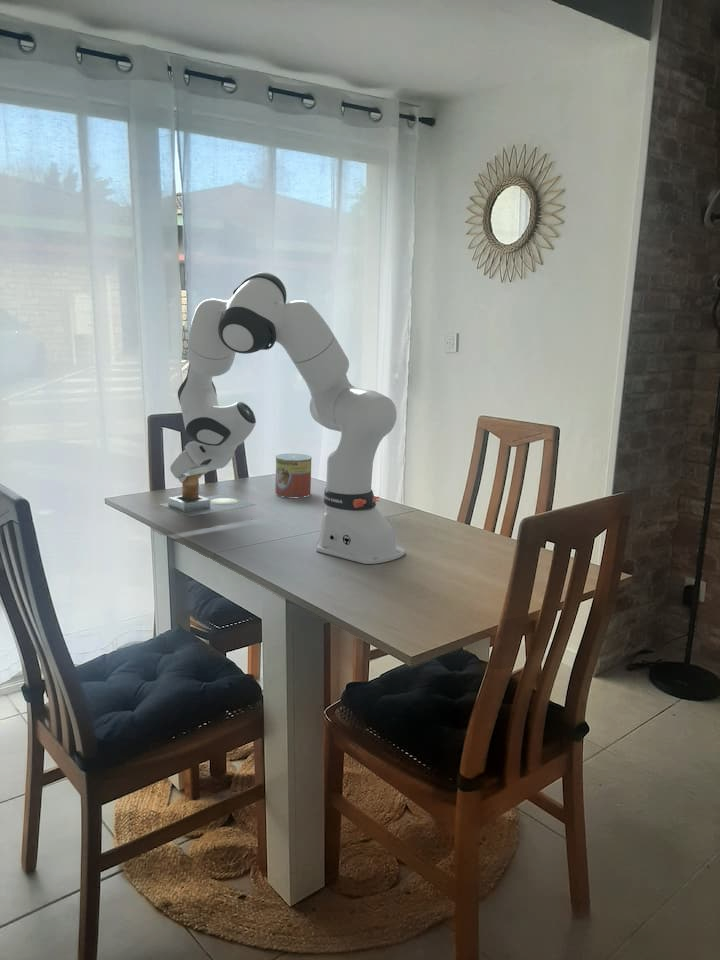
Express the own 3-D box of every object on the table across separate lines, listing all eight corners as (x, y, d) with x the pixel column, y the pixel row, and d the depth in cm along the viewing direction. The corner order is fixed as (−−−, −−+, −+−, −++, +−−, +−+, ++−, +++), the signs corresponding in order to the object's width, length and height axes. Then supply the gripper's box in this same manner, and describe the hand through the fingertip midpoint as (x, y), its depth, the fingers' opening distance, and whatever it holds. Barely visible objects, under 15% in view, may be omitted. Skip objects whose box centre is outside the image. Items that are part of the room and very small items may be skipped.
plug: (201, 497, 204) (201, 466, 202) (187, 499, 201) (187, 468, 199) (193, 494, 207) (192, 463, 205) (179, 496, 204) (179, 465, 202)
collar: (210, 507, 205) (210, 499, 204) (184, 512, 199) (184, 503, 198) (194, 501, 210) (194, 493, 210) (168, 505, 205) (168, 497, 204)
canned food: (267, 493, 228) (268, 456, 226) (291, 488, 238) (291, 452, 235) (294, 500, 222) (295, 461, 220) (317, 494, 231) (319, 457, 229)
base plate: (255, 508, 210) (255, 504, 210) (189, 520, 195) (189, 516, 195) (224, 497, 221) (224, 493, 221) (159, 508, 206) (159, 504, 206)
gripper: (233, 435, 206) (207, 464, 213) (182, 444, 189) (156, 475, 196) (245, 452, 205) (219, 481, 212) (195, 463, 188) (168, 494, 194)
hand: (188, 478), depth 204 cm, fingers closed on plug, 4 cm apart
